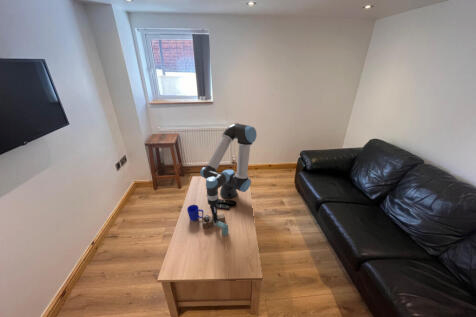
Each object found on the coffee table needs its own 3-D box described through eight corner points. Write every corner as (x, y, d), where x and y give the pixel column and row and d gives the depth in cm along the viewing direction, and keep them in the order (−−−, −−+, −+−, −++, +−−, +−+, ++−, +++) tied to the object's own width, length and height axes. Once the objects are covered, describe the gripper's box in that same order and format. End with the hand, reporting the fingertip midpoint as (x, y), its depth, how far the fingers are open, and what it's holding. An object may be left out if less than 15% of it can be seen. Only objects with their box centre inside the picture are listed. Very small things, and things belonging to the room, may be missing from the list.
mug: (202, 223, 142) (200, 213, 138) (187, 221, 145) (185, 211, 140) (206, 215, 149) (204, 206, 145) (191, 213, 152) (189, 203, 147)
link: (223, 217, 148) (223, 212, 145) (225, 223, 142) (225, 218, 140) (202, 222, 143) (201, 217, 141) (203, 228, 138) (202, 223, 136)
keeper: (219, 228, 138) (218, 220, 135) (228, 232, 135) (228, 225, 131) (216, 231, 136) (215, 223, 132) (225, 236, 132) (225, 228, 129)
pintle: (207, 223, 143) (206, 214, 139) (209, 224, 142) (208, 216, 138) (205, 224, 141) (204, 216, 138) (207, 225, 140) (206, 217, 137)
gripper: (205, 191, 138) (207, 216, 149) (209, 206, 124) (211, 232, 135) (215, 189, 140) (217, 214, 151) (220, 204, 126) (222, 230, 137)
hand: (214, 222), depth 143 cm, fingers open, 4 cm apart
